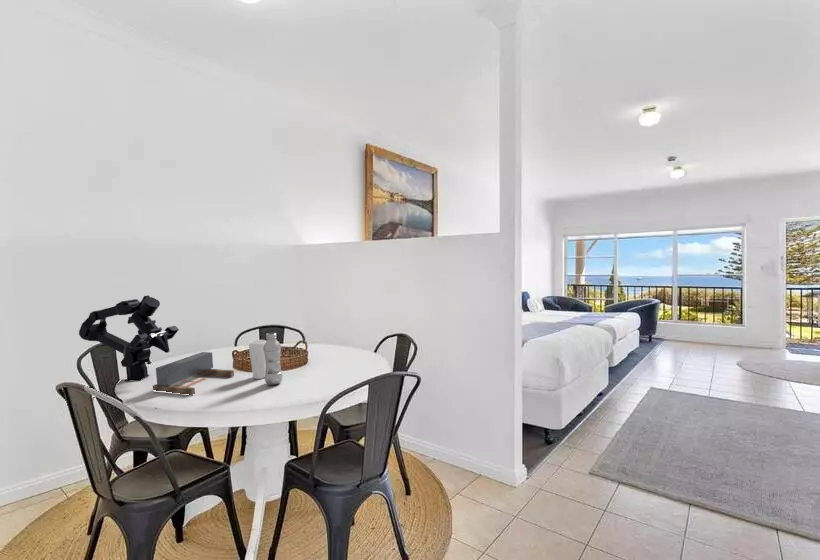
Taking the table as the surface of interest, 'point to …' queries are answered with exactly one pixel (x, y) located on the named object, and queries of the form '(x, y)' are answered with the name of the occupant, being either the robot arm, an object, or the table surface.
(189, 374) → the arm
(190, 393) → the rails
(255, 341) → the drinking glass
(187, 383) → the label tile
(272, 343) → the plastic bottle
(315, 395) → the table surface
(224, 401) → the table surface
